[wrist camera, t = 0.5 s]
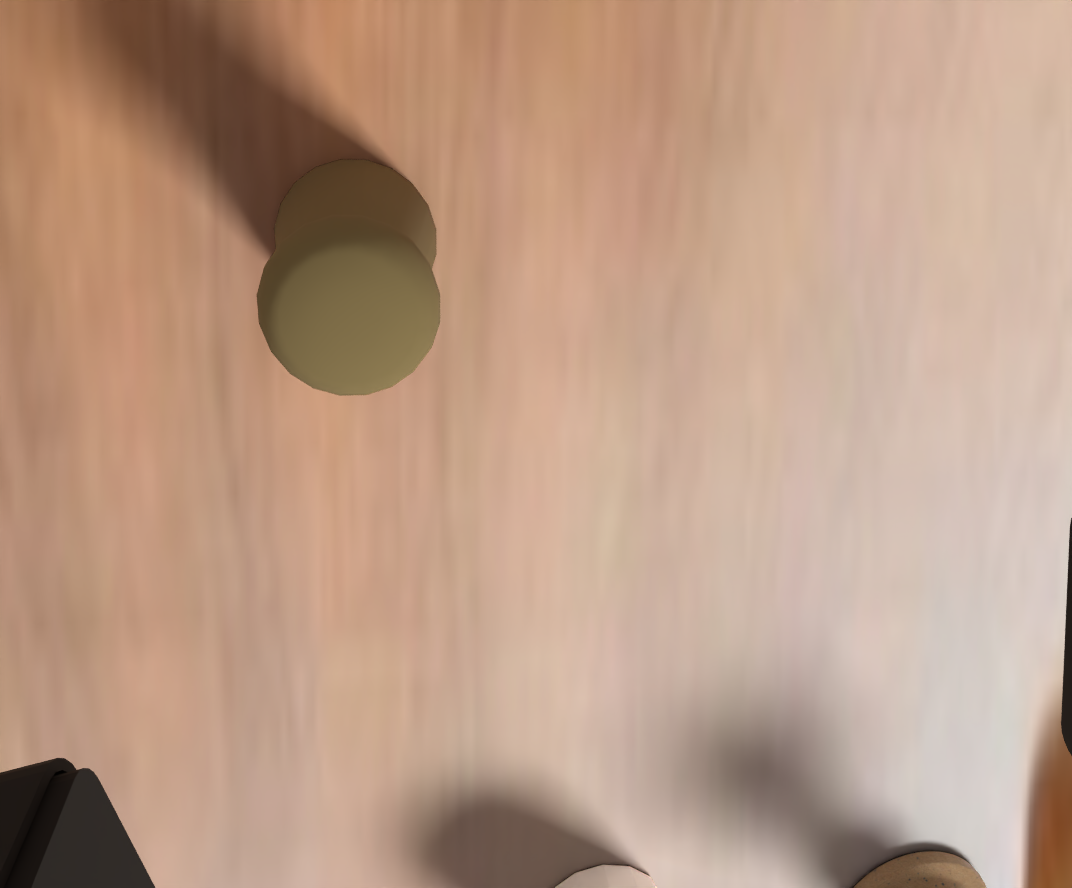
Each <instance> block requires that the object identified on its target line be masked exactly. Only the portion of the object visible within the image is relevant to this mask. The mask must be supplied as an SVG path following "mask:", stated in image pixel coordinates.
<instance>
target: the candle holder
mask: <svg viewBox="0 0 1072 888" xmlns="http://www.w3.org/2000/svg"><path fill="white" fill-rule="evenodd" d="M854 888H986V885H985V883H984V881H983V880H982V878H981V877H980V875H979V874H978V872H977V871H976V870H975V869H974V868H973V867H972V866H971V865H970V864H969V863H968V862H967V861H965V860H964V859H962V858H960V857H958V856H956V855H953V854H950V853H945V852H938V851H926V852H917V853H912V854H907V855H904V856H901V857H898V858H895V859H893V860H891V861H889V862H886V863H884V864H883V865H881V866H879V867H877V868H876V869H874V870H873V871H871V872H870V873H869V874H867V875H866V876H865V877H864V878H863V879H862V880H860V881H859V882H858V883H857V884H856V885H855V887H854Z"/></svg>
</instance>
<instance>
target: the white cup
mask: <svg viewBox="0 0 1072 888" xmlns="http://www.w3.org/2000/svg"><path fill="white" fill-rule="evenodd" d="M555 888H657V886H656V885H655V883H654V881H653V880H652V878H651V877H650V876H648V875H646V874H644V873H642V872H640V871H638V870H636V869H634V868H632V867H630V866H619V865H600V866H596V867H593V868H589V869H586V870H583V871H579V872H576V873H574V874H573V875H571V876H570V877H569V878H567V879H566V880H564V881H563V882H562V883H560V884H559V885H557V886H556V887H555Z"/></svg>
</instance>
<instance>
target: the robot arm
mask: <svg viewBox="0 0 1072 888" xmlns="http://www.w3.org/2000/svg"><path fill="white" fill-rule="evenodd" d="M1061 726H1062V734H1063V738H1064V741H1065V743H1066V746H1067V748H1068V750H1069V752H1070V754H1071V755H1072V518H1071V524H1070V538H1069V560H1068V583H1067V606H1066V628H1065V651H1064V674H1063V696H1062V719H1061ZM0 888H155V886H154V884H153V882H152V881H151V879H150V877H149V875H148V873H147V871H146V869H145V867H144V865H143V863H142V861H141V859H140V858H139V856H138V854H137V852H136V850H135V848H134V846H133V844H132V842H131V840H130V838H129V836H128V834H127V833H126V831H125V829H124V827H123V825H122V823H121V821H120V819H119V817H118V815H117V813H116V811H115V810H114V808H113V806H112V804H111V802H110V800H109V798H108V796H107V794H106V792H105V790H104V788H103V787H102V785H101V783H100V781H99V779H98V777H97V776H96V775H95V773H94V772H93V771H91V770H90V769H88V768H83V769H79V770H76V769H75V767H74V766H73V764H72V763H70V762H69V761H68V760H66V759H64V758H56V759H52V760H48V761H44V762H40V763H36V764H33V765H29V766H25V767H21V768H17V769H13V770H9V771H5V772H2V773H0Z"/></svg>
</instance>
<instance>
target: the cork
mask: <svg viewBox="0 0 1072 888" xmlns="http://www.w3.org/2000/svg"><path fill="white" fill-rule="evenodd" d="M274 233H275V247H276V250H275V252H274V253H273V255H272V256H271V257H270V259H269V260H268V262H267V263H266V265H265V267H264V270H263V273H262V277H261V281H260V285H259V289H258V293H257V304H258V317H259V324H260V327H261V329H262V331H263V334H264V336H265V338H266V341H267V343H268V345H269V348H270V350H271V352H272V353H273V354H274V356H275V357H276V358H277V359H278V360H279V361H280V363H281V364H282V365H283V366H284V367H285V368H286V369H287V371H288V372H289V373H290V374H291V375H293V376H295V377H296V378H298V379H299V380H301V381H303V382H304V383H306V384H307V385H309V386H311V387H312V388H314V389H318V390H322V391H325V392H329V393H332V394H336V395H340V396H341V395H368V394H371V393H374V392H378V391H381V390H384V389H387V388H390V387H392V386H394V385H395V384H397V383H398V382H399V381H401V380H402V379H404V378H405V377H407V376H408V375H409V374H411V373H412V372H413V371H414V370H415V369H416V368H417V366H418V365H419V364H420V362H421V361H422V360H423V358H424V357H425V356H426V354H427V353H428V352H429V350H430V349H431V348H432V345H433V342H434V339H435V336H436V333H437V330H438V327H439V324H440V293H439V289H438V287H437V284H436V281H435V278H434V275H433V272H432V266H433V263H434V260H435V257H436V228H435V224H434V221H433V218H432V215H431V212H430V209H429V206H428V204H427V203H426V202H425V200H424V199H423V197H422V196H421V195H420V193H419V192H418V191H417V189H416V188H415V186H414V185H413V184H412V183H411V182H409V181H408V180H407V179H405V178H404V177H403V176H401V175H400V174H399V173H397V172H396V171H394V170H393V169H392V168H389V167H386V166H383V165H380V164H377V163H374V162H371V161H369V160H346V159H340V160H337V161H334V162H331V163H327V164H324V165H321V166H318V167H315V168H314V169H313V170H311V171H310V172H308V173H307V174H306V175H304V176H303V177H302V178H300V179H299V180H298V181H296V182H295V183H294V185H293V186H292V188H291V189H290V191H289V192H288V194H287V195H286V197H285V198H284V200H283V201H282V203H281V204H280V208H279V212H278V216H277V220H276V223H275V227H274Z"/></svg>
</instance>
